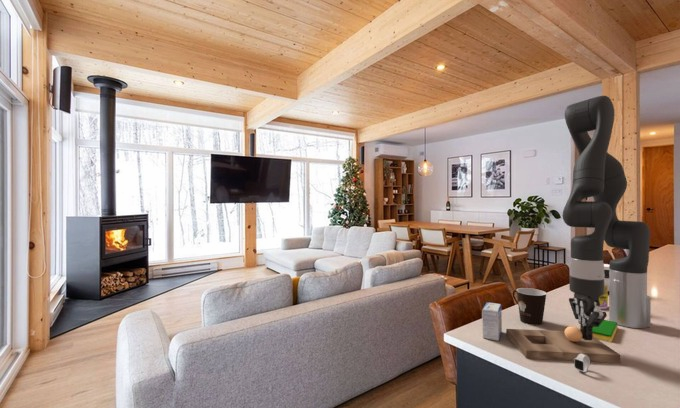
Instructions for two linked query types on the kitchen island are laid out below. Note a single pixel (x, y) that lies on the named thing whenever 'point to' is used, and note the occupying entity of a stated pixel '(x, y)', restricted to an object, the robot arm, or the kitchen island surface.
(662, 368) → the kitchen island surface
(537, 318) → the coffee mug
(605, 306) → the supplement bottle
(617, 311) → the robot arm
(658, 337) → the kitchen island surface
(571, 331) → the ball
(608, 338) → the dish sponge
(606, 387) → the kitchen island surface
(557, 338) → the walnut board
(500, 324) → the medicine box
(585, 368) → the smartwatch
